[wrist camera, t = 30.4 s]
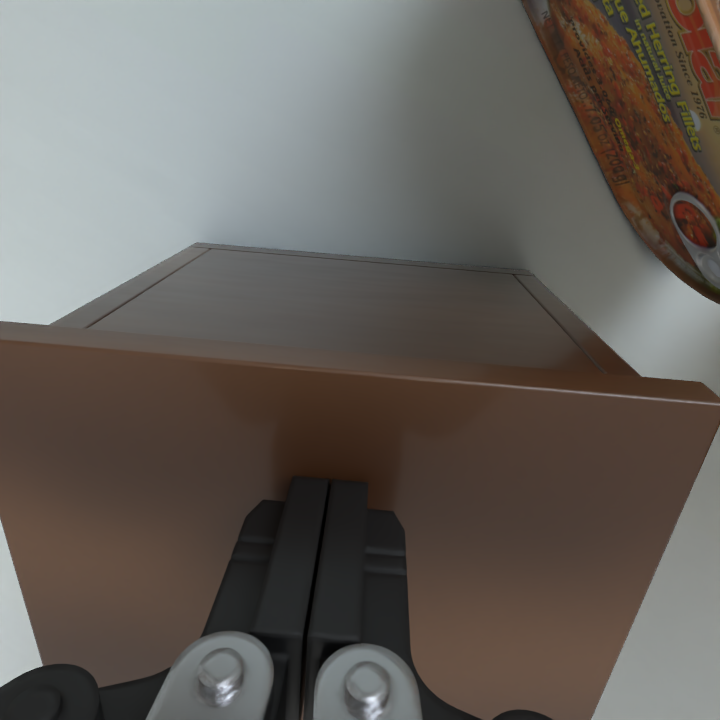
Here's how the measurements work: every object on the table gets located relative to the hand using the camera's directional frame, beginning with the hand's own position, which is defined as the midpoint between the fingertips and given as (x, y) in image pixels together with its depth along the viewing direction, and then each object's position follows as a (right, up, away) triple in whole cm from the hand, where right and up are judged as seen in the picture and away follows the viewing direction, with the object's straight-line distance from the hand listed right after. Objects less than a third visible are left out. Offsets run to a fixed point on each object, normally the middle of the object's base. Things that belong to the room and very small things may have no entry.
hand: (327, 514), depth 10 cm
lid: (0, -6, +4) cm, 7 cm away
